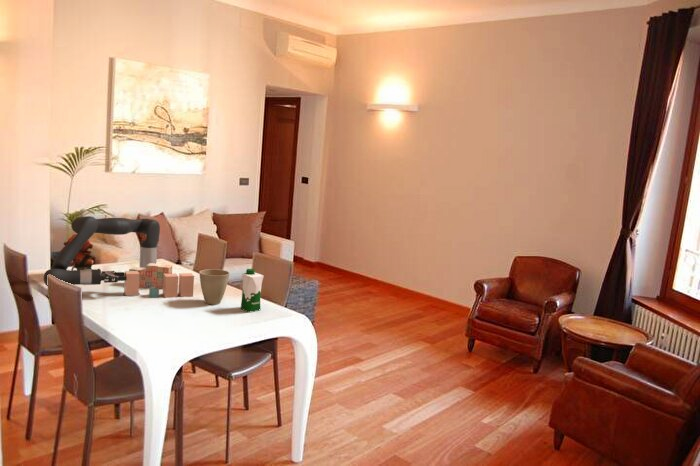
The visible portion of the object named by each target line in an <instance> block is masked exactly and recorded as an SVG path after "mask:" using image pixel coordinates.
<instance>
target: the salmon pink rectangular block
mask: <svg viewBox="0 0 700 466" xmlns="http://www.w3.org/2000/svg"><path fill="white" fill-rule="evenodd" d="M124 276H126V277H127V280H126V281H123V285H124V286H123V288H124V289H123V293H125V295H138V296H139V293H140V290H139V289H140V286H139V272H138V271H129V270H125V271H124ZM125 295H124V296H125Z"/></svg>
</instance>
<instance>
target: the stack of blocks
mask: <svg viewBox="0 0 700 466" xmlns="http://www.w3.org/2000/svg"><path fill="white" fill-rule="evenodd" d="M128 271H138V272H139V288H140V287H141V288H158V289H161V290H163V276H164V274H173V264H172V265H171V264H164V263H156V264H155V263H149V264H148V265H146V268H141V267H139V266H132V267H131V268H129V269H128Z"/></svg>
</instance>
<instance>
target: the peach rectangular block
mask: <svg viewBox="0 0 700 466" xmlns="http://www.w3.org/2000/svg"><path fill="white" fill-rule="evenodd" d="M194 283H195V275H194V274H193V273H191V272H183V273H182V272H181V273H179V276H178V296H179V297H181V298H185V297H186V298H187V297H193V296H194V285H195V284H194Z"/></svg>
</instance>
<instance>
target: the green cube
mask: <svg viewBox="0 0 700 466" xmlns="http://www.w3.org/2000/svg"><path fill="white" fill-rule="evenodd" d="M148 288H149V290H148V297H149V298H151V299H153V298H159V297H160V296H159V295H160V290H159V289H160V288H150V287H148Z"/></svg>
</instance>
